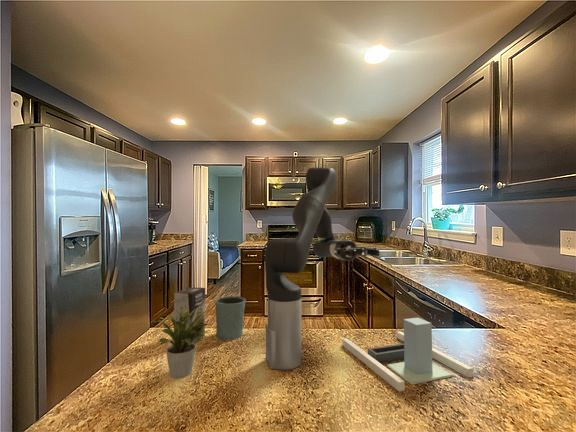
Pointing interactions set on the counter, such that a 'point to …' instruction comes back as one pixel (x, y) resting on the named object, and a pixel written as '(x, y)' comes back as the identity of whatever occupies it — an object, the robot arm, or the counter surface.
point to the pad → (415, 379)
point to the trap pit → (387, 353)
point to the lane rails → (393, 378)
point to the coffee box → (190, 307)
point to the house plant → (181, 344)
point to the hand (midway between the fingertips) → (367, 253)
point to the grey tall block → (418, 345)
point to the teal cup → (229, 317)
